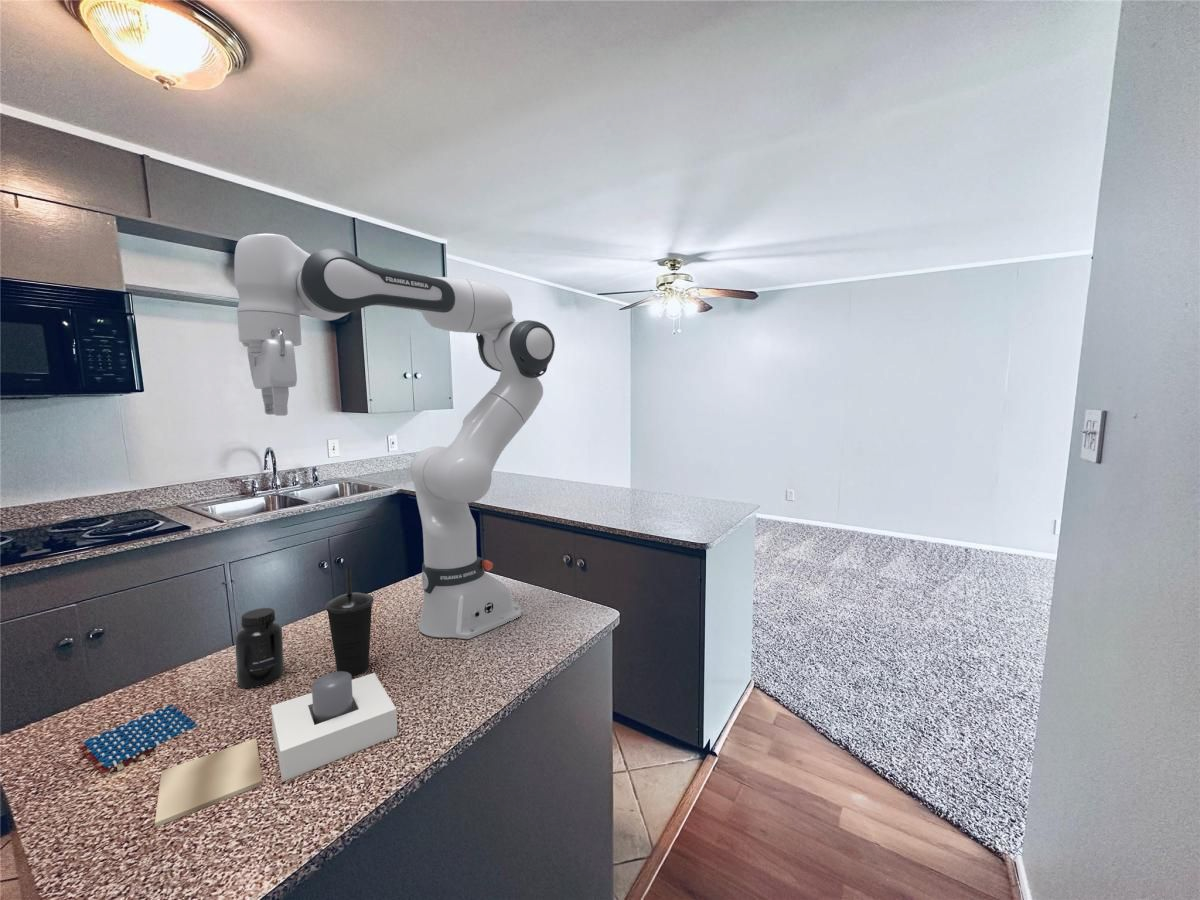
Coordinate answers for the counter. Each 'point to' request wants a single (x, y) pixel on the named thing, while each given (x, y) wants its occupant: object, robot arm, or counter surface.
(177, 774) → the pad
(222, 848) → the counter surface
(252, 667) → the supplement bottle
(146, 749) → the woven mat
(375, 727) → the block
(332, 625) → the drinking cup
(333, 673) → the grey cylinder
